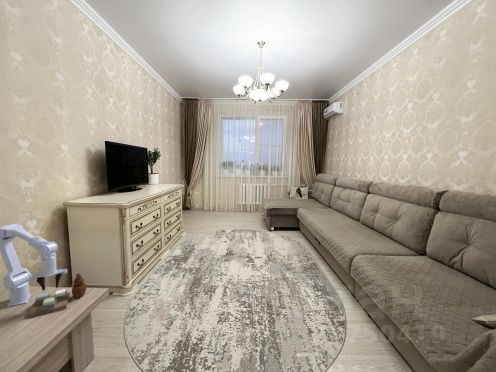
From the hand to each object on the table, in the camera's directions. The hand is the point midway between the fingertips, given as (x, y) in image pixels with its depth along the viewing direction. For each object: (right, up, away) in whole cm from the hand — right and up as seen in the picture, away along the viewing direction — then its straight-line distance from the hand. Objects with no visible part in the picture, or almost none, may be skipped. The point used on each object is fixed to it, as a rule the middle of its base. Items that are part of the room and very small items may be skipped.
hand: (50, 288), depth 122 cm
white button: (+2, -6, +4) cm, 7 cm away
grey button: (-4, -6, 0) cm, 7 cm away
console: (0, -10, 0) cm, 10 cm away
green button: (+2, -7, -4) cm, 8 cm away
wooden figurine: (+9, -9, +9) cm, 16 cm away
